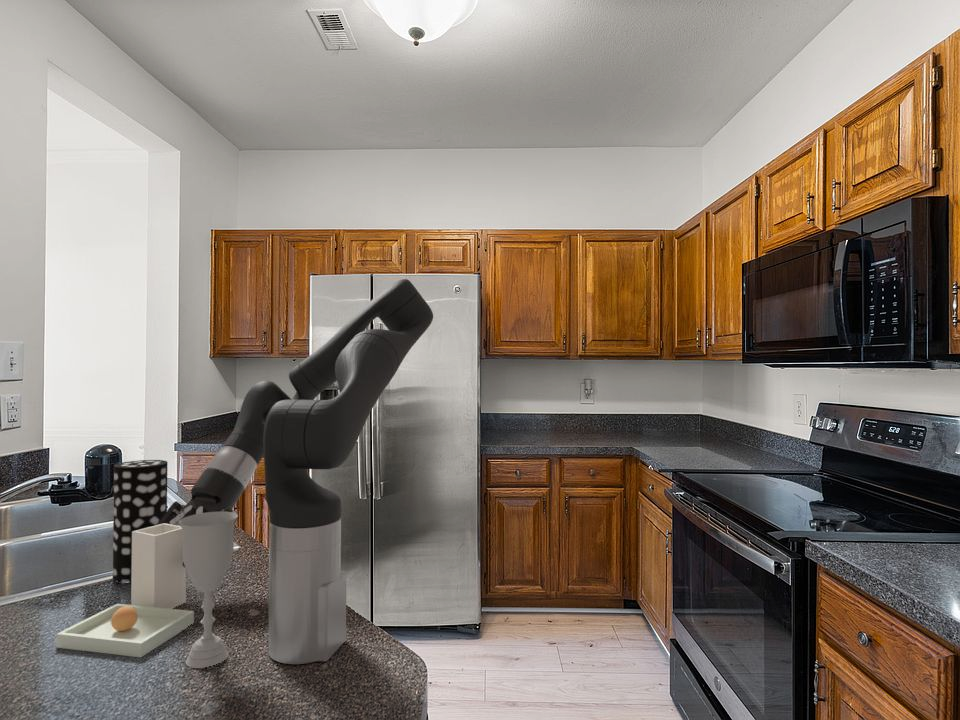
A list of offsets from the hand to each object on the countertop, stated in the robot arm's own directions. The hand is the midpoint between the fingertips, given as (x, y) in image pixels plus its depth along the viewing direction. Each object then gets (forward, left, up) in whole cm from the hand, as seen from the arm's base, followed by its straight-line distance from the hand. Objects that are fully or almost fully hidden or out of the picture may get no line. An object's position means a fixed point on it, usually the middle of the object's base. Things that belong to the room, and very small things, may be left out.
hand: (168, 565), depth 93 cm
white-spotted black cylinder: (+14, -10, -6) cm, 18 cm away
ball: (-2, +11, -4) cm, 11 cm away
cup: (+1, +1, -6) cm, 6 cm away
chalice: (-17, +14, -6) cm, 23 cm away
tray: (-2, +11, -6) cm, 12 cm away
